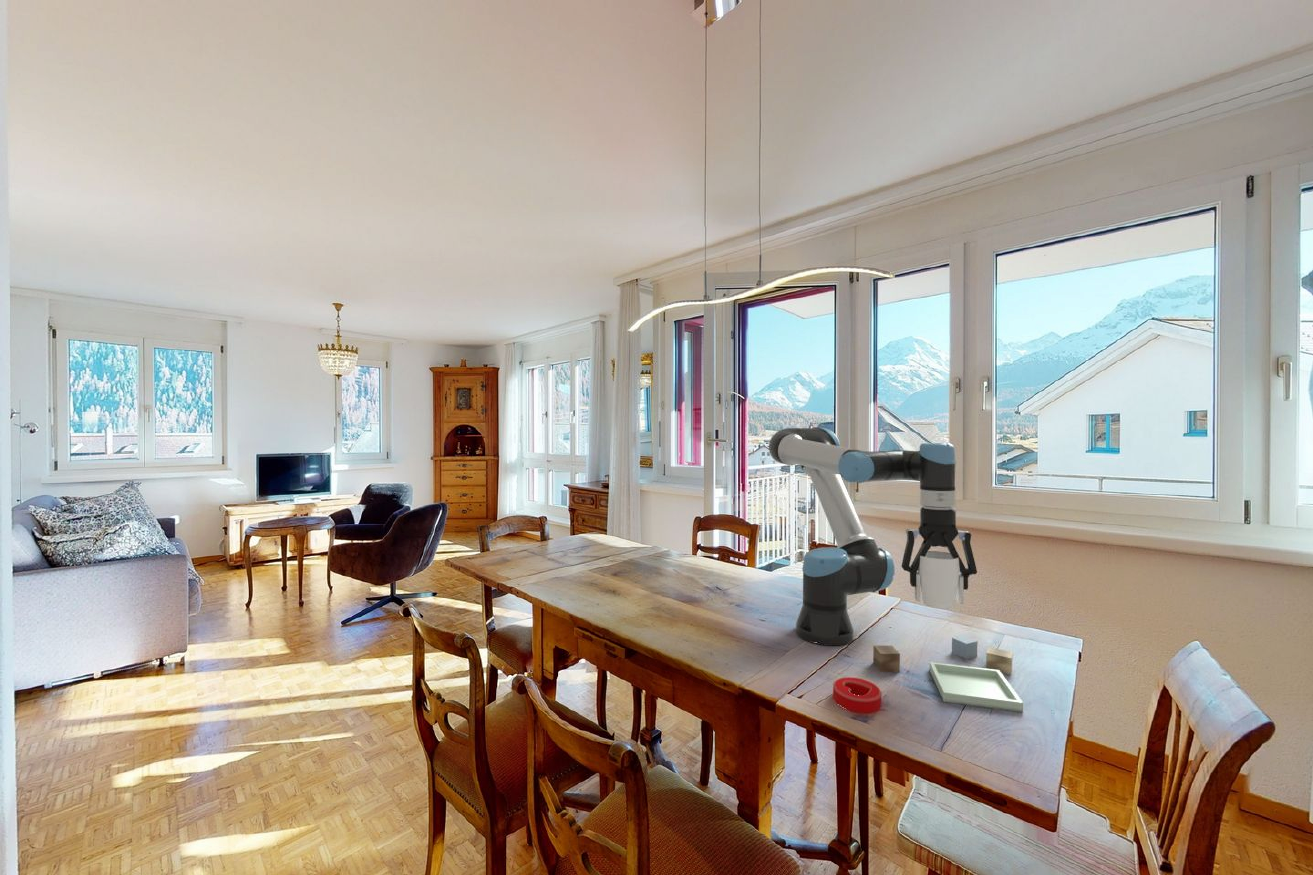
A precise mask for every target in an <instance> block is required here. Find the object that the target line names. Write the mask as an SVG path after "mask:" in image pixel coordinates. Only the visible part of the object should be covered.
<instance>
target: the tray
mask: <svg viewBox="0 0 1313 875" xmlns="http://www.w3.org/2000/svg"><path fill="white" fill-rule="evenodd" d="M928 669H929V672H930V675H931V677H932V679H933V681H934V683H935V685H936V687H937V690H938V692H939V695H940V697H941V699H942V701H943V702H945V703H950V704H956V705H957V704H958V705H965V706H971V707H980V708H981V707H982V708H987V709H995V710H1003V711H1010V712H1017V713H1018V712H1019V713H1024V702H1023V701H1022V699H1021V697H1019V695H1018V694H1017V692H1016V691H1015V689H1014V688H1013V687H1012V686H1011V684H1010V683H1009V681H1008V680H1007V679H1006V677H1005V676H1004V673H1002V672H1000V670H995V669H986V667H975V666H967V665H960V664H959V665H958V664H951V663H950V664H949V663H940V662H934V661H929V668H928Z"/></svg>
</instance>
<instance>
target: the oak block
mask: <svg viewBox="0 0 1313 875" xmlns="http://www.w3.org/2000/svg"><path fill="white" fill-rule="evenodd" d="M985 655H986V657H985V658H986V661H985V664H986V665H985V668H986V669H995V670H1000V672H1001V673H1002V674H1007V675H1012V672H1013V655H1014V653H1013V652H1012V651H1007V650H1003V649H999V648H996V647H995V648H994V647H990V646H988V647H987V651H986V654H985Z"/></svg>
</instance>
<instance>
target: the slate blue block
mask: <svg viewBox="0 0 1313 875" xmlns="http://www.w3.org/2000/svg"><path fill="white" fill-rule="evenodd" d="M951 653H952V654H953V655H956V656H958V657H960V658H963V659H965V660H968V659H972V658H976V657H978V640H976V639H973V638H971V637H968V636H966V635H964V634H961V635H958V636H953V637H951Z"/></svg>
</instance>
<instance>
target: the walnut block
mask: <svg viewBox="0 0 1313 875" xmlns="http://www.w3.org/2000/svg"><path fill="white" fill-rule="evenodd" d="M872 655H873V660H872V661H873V662H872V663H873V665H874V666H875V667H876V668H877V670H878V671H879V673H900V672H901V670H900V667H901V666H900V665H901V653H900V652H899V651H898V650H897V649H896V648H895V647H894V646H893V645H876V644H875V645H873V654H872Z"/></svg>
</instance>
